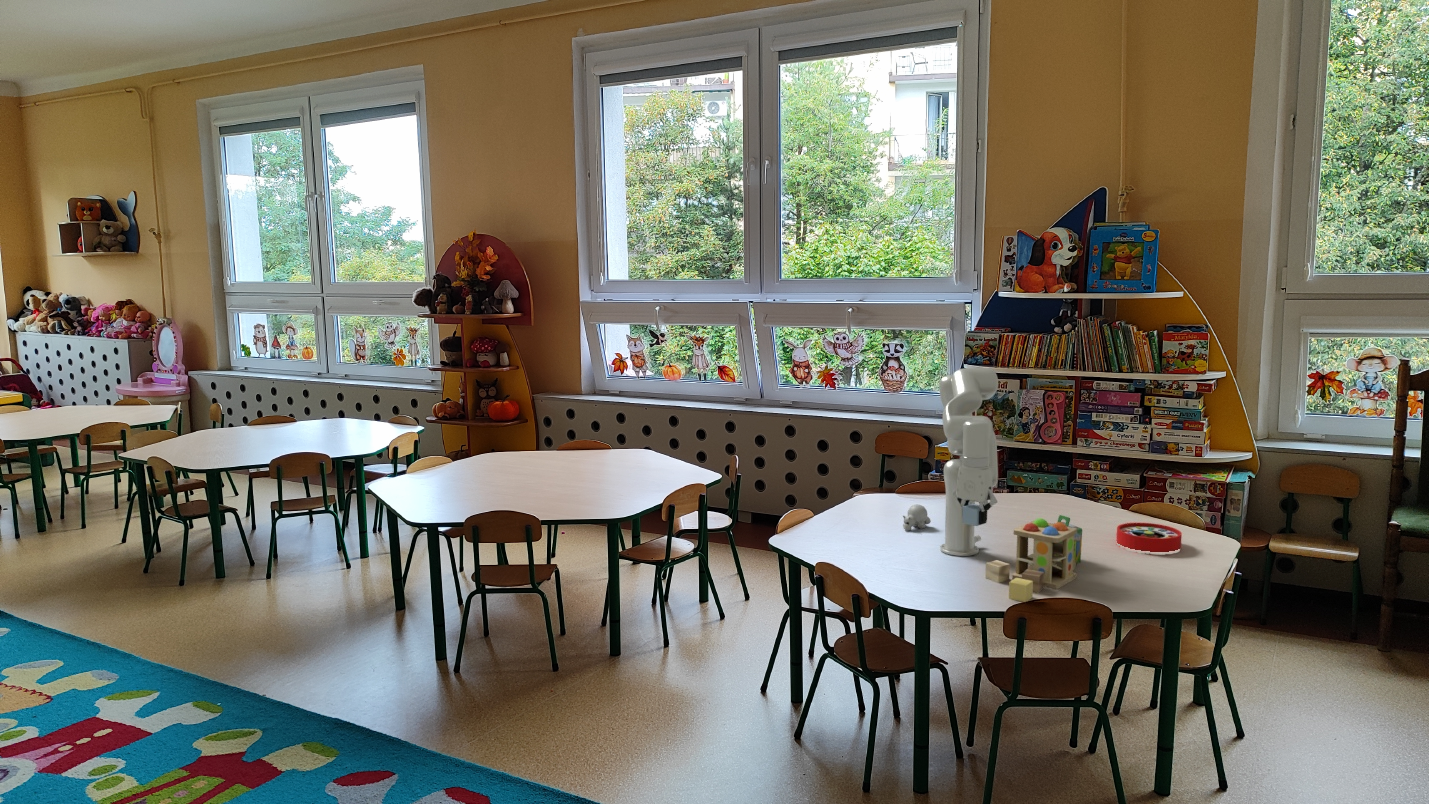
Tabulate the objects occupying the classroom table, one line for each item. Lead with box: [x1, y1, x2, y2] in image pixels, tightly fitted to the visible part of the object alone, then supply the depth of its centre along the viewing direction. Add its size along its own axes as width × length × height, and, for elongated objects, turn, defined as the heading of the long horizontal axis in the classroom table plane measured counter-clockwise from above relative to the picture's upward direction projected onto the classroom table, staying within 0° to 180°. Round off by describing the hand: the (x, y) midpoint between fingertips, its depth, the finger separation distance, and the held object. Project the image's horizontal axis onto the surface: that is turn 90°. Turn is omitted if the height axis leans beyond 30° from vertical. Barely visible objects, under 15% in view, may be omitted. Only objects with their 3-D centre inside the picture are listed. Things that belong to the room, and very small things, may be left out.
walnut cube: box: [1022, 569, 1045, 594], centre depth 277 cm, size 5×5×5 cm
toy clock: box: [1116, 522, 1183, 552], centre depth 317 cm, size 20×6×20 cm
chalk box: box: [1051, 514, 1083, 564], centre depth 302 cm, size 9×9×15 cm
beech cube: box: [985, 559, 1011, 584], centre depth 286 cm, size 5×5×5 cm
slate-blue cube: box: [962, 503, 983, 527], centre depth 277 cm, size 5×5×5 cm
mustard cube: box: [1008, 578, 1034, 603], centre depth 269 cm, size 5×5×5 cm
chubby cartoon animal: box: [902, 504, 932, 532], centre depth 343 cm, size 7×12×8 cm, turn 125°
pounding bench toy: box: [1011, 518, 1077, 590], centre depth 288 cm, size 23×14×18 cm, turn 135°
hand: (974, 521), depth 277 cm, fingers closed on slate-blue cube, 4 cm apart
